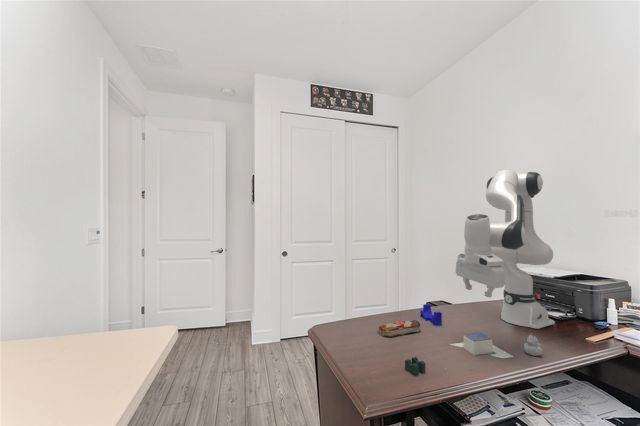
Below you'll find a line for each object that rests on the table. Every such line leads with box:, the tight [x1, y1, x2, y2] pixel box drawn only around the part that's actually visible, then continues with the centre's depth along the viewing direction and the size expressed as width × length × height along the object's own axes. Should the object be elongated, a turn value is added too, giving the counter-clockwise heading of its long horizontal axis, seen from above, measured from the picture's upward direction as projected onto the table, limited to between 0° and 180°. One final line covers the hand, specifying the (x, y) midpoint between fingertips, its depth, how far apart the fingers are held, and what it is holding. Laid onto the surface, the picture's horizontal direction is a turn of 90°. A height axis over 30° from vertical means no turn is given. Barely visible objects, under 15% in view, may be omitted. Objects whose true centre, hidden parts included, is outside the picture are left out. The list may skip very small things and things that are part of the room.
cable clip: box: [419, 303, 443, 327], centre depth 130 cm, size 12×4×6 cm, turn 5°
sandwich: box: [378, 319, 422, 337], centre depth 116 cm, size 11×20×5 cm, turn 98°
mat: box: [449, 341, 514, 359], centre depth 100 cm, size 18×13×1 cm
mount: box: [404, 356, 426, 377], centre depth 86 cm, size 11×4×5 cm, turn 119°
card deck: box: [463, 332, 493, 356], centre depth 100 cm, size 5×8×5 cm, turn 103°
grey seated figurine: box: [523, 333, 543, 357], centre depth 99 cm, size 5×7×8 cm
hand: (478, 292), depth 104 cm, fingers open, 8 cm apart
